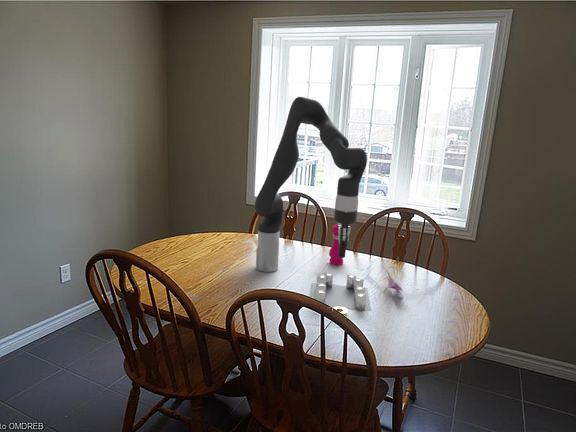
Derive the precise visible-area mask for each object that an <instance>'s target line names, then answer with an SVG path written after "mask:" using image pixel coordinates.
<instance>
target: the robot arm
mask: <svg viewBox="0 0 576 432" xmlns="http://www.w3.org/2000/svg"><path fill="white" fill-rule="evenodd" d="M287 115H288V116H287V117H286V118H287V119H286V121H285V122H286V123H285V126H284V129H283V132H282V135H281V139H280V141H279V143H278V147H277V149H276V151H275V154H274V155H273V156H274V157H273V159H272V162H271V165H270V168H269V170H268V173H267V175H266V178H265V181H264V183H263V185H262V187H261V189H260V190H259V193H258V194H257V197H256V198H255V202H254V209H255V213H256V214H257V215H258V216H259V217H264V218H262V220H261V221H260V222H259V223H258V224H257V248H256V254H255V256H256V258H255V270H256V271H260V272H265V273H272V272H276V271H277V270H279V256H280V255H279V254H280V251H279V250H280V230H281V226H282V224H283V223H282V222H283V217H284V216H283V215H284V214H283V213H284V202H283V198H282V197H281V195H280V194H279V193H278V191H279V190H280V189H281V188H282V186H283V185H284V184H285V183H286V182H287V180H288V179H290V177H291V176H292V174H293V173H294V171H295V168H296V166H297V164H298V161H299V158H300V151H299V146H298V145H299V144H298V140H297V135H298V131H299V129H300V126H301V124H304V125H312V126H313V127H315V128H317V130H319V139H320V141H321V143H322V144H323V145H324V147H325V148H326V149H327V150H328V151H329V152H330V155H331V158H332V159H333V164H334V165H335V166H336V167H337V168H339V169H340V170H344V171H345V170H348V172H347V174H346V175H343V176H341V177H339V178H338V181H337V188H336V189H337V190H336V197H335V201H334V202H335V203H334V215H333V220H334V222H336V223H341V226H339V228H338V233H339V236H338V240H339V257H342V258H345V257H346V250H347V247H348V242H349V239H350V234H351V226H350V225H353V224H356V222H357V218H358V216H357V215H358V209H359V191H360V190H359V189H360V183H361V180H362V178H363V175H364V172H365V169H366V167H367V162H368V157H367V153H366V150H364V148H361V147H349V146H350V145H349V140H348V139H347V137H346V136H345V135H344V134H343V133H342V132H341V131H340V130H339V129H338V127H336V125H335V124H334V122H333V121H332V120H331V118H330V117H329V115H328V113H327V111H326V109H325V108H324V107H323V105H322V104H321V103H320V101H317V100H316V99H313V98H308V97H304V96H298V97H296V98H294V100H293V102H291V105H290V108H289V111H288V113H287Z"/></svg>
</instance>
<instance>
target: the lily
mask: <svg viewBox="0 0 576 432" xmlns="http://www.w3.org/2000/svg"><path fill="white" fill-rule="evenodd" d="M384 271H386V273H387V275H388V276H386V279H387V280H388V281H387V282H388V284H387V287H386V288H385V289H384V290H383V293H382V294H385V292H386V291H387V290H388V289H393V290H395V291H397V292H398V293H399V294H400V296H401V297H402V298H403V295H402V293H401V292H403V288H402V287H401V286H400V285H399V284H398V282H397V281H394V279H393V278H392V276H391V274H390V272H388V270H387V269H386V268H385V267H384Z"/></svg>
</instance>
